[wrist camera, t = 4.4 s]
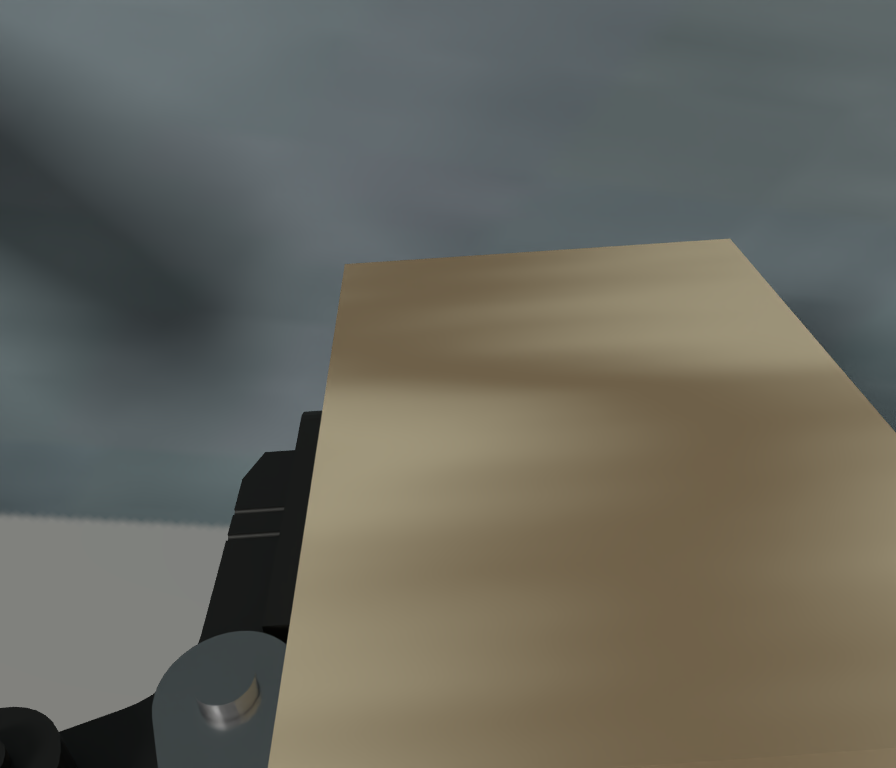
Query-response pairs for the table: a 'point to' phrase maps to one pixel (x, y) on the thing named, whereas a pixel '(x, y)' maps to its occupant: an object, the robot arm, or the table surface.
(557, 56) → the table surface
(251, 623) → the robot arm
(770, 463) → the maple block
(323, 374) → the table surface
